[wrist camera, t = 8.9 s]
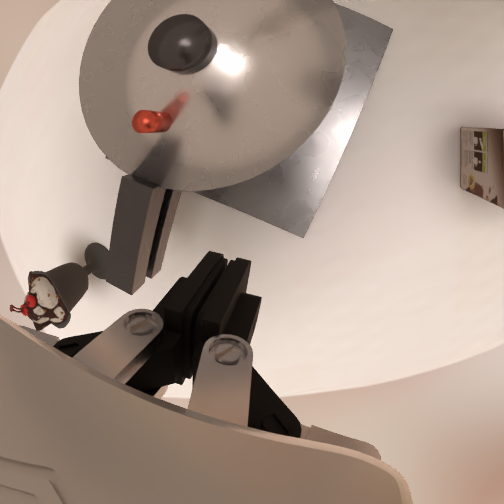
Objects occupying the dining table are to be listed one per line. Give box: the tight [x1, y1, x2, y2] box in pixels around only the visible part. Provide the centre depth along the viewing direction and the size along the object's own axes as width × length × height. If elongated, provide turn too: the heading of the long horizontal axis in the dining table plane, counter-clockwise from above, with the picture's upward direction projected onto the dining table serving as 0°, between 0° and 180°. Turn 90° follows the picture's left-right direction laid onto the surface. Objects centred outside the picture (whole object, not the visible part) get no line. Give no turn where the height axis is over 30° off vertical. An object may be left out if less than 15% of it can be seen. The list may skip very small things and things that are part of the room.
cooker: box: [106, 3, 393, 279], centre depth 19 cm, size 26×22×10 cm
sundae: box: [10, 243, 109, 331], centre depth 26 cm, size 7×7×15 cm
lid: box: [79, 0, 346, 295], centre depth 13 cm, size 24×16×3 cm
